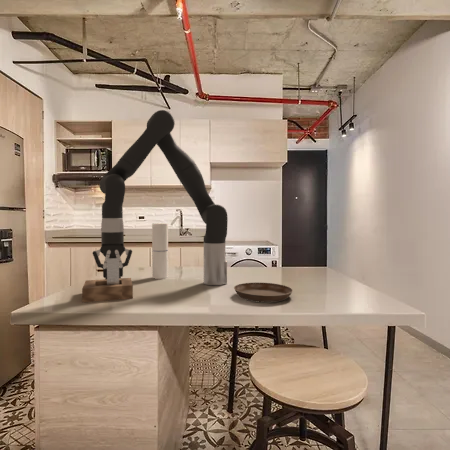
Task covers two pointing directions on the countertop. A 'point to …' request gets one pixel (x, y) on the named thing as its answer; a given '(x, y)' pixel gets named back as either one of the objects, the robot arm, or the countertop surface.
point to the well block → (107, 290)
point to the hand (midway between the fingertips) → (113, 278)
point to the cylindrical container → (160, 250)
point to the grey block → (112, 271)
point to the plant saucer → (263, 292)
